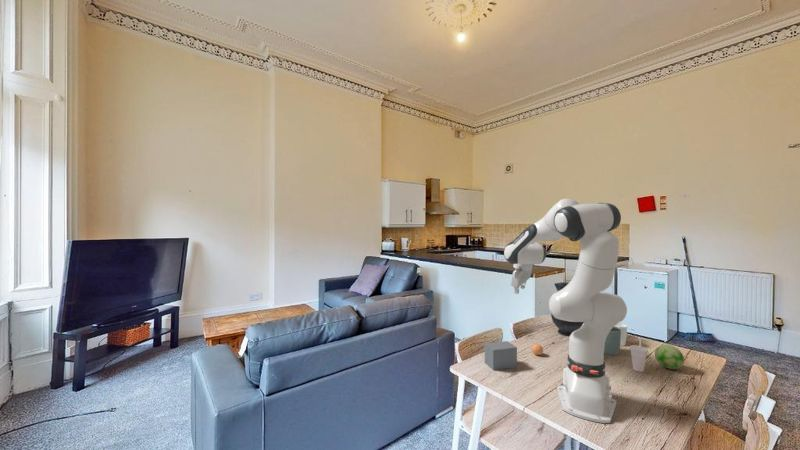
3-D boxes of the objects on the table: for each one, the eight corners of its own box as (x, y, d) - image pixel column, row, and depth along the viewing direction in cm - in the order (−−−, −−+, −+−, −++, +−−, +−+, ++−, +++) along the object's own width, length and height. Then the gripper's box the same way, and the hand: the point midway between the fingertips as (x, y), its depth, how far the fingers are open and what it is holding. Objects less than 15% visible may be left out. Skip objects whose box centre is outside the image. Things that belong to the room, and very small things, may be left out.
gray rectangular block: (493, 370, 136) (493, 350, 136) (484, 362, 143) (484, 343, 143) (516, 366, 139) (517, 347, 138) (507, 359, 146) (507, 341, 146)
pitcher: (558, 326, 192) (559, 277, 191) (596, 335, 176) (597, 282, 175) (545, 332, 181) (546, 281, 180) (584, 343, 165) (585, 287, 164)
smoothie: (651, 374, 132) (651, 341, 132) (634, 372, 134) (634, 340, 133) (642, 367, 139) (642, 335, 138) (626, 365, 140) (626, 334, 140)
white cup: (605, 341, 168) (605, 322, 168) (616, 339, 170) (616, 321, 170) (619, 347, 160) (619, 327, 160) (630, 345, 163) (630, 326, 163)
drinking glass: (621, 357, 148) (622, 332, 148) (596, 352, 153) (596, 328, 153) (620, 350, 157) (620, 326, 156) (596, 345, 162) (596, 322, 162)
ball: (542, 357, 148) (542, 347, 148) (531, 355, 150) (531, 345, 150) (543, 353, 152) (543, 343, 152) (532, 351, 155) (532, 341, 155)
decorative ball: (653, 368, 138) (653, 345, 137) (656, 360, 145) (656, 339, 145) (683, 376, 131) (683, 352, 131) (684, 368, 138) (685, 345, 138)
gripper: (522, 270, 146) (519, 298, 148) (535, 262, 162) (531, 287, 164) (509, 267, 150) (506, 294, 152) (522, 259, 166) (519, 284, 168)
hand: (519, 290), depth 158 cm, fingers open, 8 cm apart
